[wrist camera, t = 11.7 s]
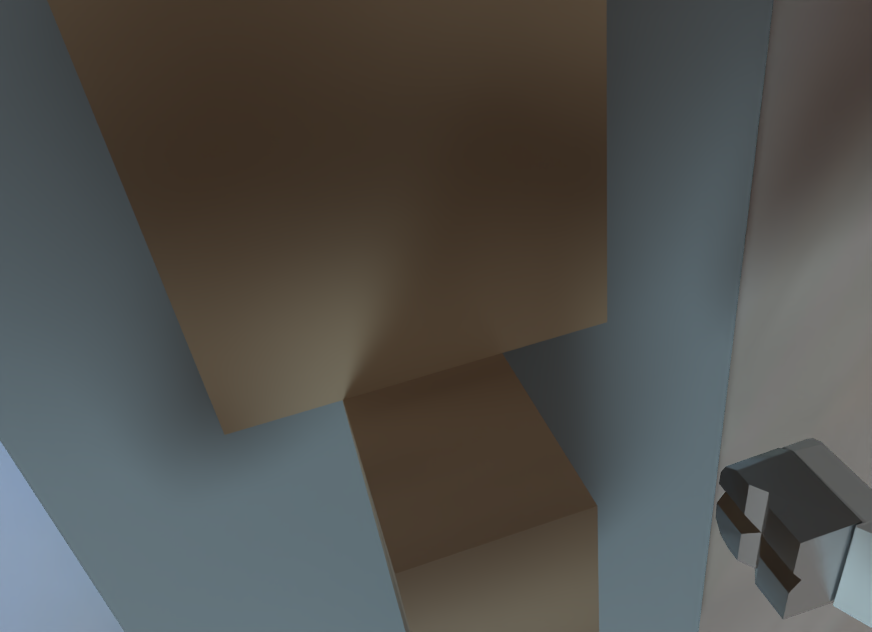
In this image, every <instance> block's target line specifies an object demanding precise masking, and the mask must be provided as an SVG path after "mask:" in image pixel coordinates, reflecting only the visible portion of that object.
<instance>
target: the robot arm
mask: <svg viewBox="0 0 872 632" xmlns="http://www.w3.org/2000/svg"><path fill="white" fill-rule="evenodd" d="M719 484H720V485H721V486H722V488H723V489H724V490H725V491H726V492H725V493H724V494H723V496H722V497H721V498H720V500H719V501H718V502H717V509H716V520H717V523H718V527H719V530H720V534H721V536H722V538H723V540H724V541H725V543H726V545H727V547H728V548H729V550H730V551H731V552H732V554H733V555H734V556H735V558H736V559H737V560H738V561H740V562H742V563H744V564H746V565H748V566H751V567H753V568H755V584H756V585H757V587H758V588H759V589H760V590H761V592H762V593H763V594H764V596H765V597H766V598H767V599H768V601H769V602H770V603H771V605H772V606H773V607H774V608H775V610H776V611H777V612H778V614H779V615H780V616H781V617H782V619H786V618H789V617H792V616H795V615H798V614H801V613H804V612H806V611H809V610H812V609H815V608H818V607H821V606H824V605H827V604H830V603H833V602H834V604H833V606H835V607H837V608H838V609H840V610H842V611H843V612H845V613H847V614H849V615H850V616H852V617H854V618H855V619H857V620H859V621H861V622H862V623H864V624H866V625H867V626H869V627H871V628H872V489H871V488H870V487H869V486H868V485H867V484H865V483H864V482H863V481H862V480H861V479H860V478H859V477H858V476H857V475H856V474H855V473H854V472H853V471H852V470H851V469H850V468H848V467H847V466H846V465H845V464H844V463H843V462H842V461H841V460H840V459H839V458H838V457H837V456H836V455H835V454H834V453H833V452H832V451H830V450H829V449H828V448H827V447H826V446H825V445H824V444H823V443H822V442H821V441H818V440H816V439H814V438H810V439H805V440H802V441H800V442H797V443H794V444H791V445H789V446H786V447H783V448H777V449H774V450H771V451H768V452H766V453H763V454H760V455H757V456H754V457H751V458H749V459H746V460H743V461H740V462H737V463H735V464H732V465H729V466H726V467H725V468H724V469H723V471H722V472H721V475H720V482H719Z"/></svg>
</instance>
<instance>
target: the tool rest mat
mask: <svg viewBox="0 0 872 632" xmlns="http://www.w3.org/2000/svg"><path fill="white" fill-rule="evenodd" d="M773 1H774V0H607V322H606V323H602V324H599V325H596V326H592V327H589V328H585V329H582V330H579V331H575V332H572V333H568V334H565V335H562V336H558V337H555V338H552V339H548V340H545V341H541V342H538V343H535V344H531V345H528V346H524V347H521V348H518V349H514V350H511V351H507V352H504V353H502V354H503V355H504V357H505V358H506V360H507V362H508V363H509V365H510V366H511V368H512V370H513V371H514V373H515V374H516V376H517V378H518V379H519V381H520V382H521V384H522V386H523V387H524V389H525V390H526V392H527V394H528V395H529V397H530V398H531V400H532V402H533V403H534V405H535V406H536V408H537V410H538V411H539V413H540V415H541V416H542V418H543V419H544V421H545V423H546V424H547V426H548V427H549V429H550V431H551V432H552V434H553V435H554V437H555V439H556V440H557V442H558V443H559V445H560V447H561V448H562V450H563V451H564V453H565V455H566V456H567V458H568V459H569V461H570V463H571V464H572V466H573V467H574V469H575V471H576V472H577V474H578V475H579V477H580V479H581V480H582V482H583V483H584V485H585V487H586V488H587V490H588V491H589V493H590V495H591V496H592V498H593V499H594V501H595V503H596V504H597V507H598V580H599V632H698V631H699V622H700V614H701V605H702V597H703V589H704V580H705V572H706V563H707V555H708V547H709V538H710V530H711V521H712V513H713V505H714V496H715V488H716V479H717V471H718V463H719V454H720V446H721V437H722V429H723V421H724V412H725V404H726V395H727V387H728V379H729V370H730V362H731V353H732V345H733V337H734V328H735V320H736V311H737V303H738V295H739V286H740V278H741V269H742V261H743V253H744V244H745V236H746V227H747V219H748V211H749V202H750V194H751V185H752V177H753V169H754V160H755V152H756V143H757V135H758V127H759V118H760V110H761V101H762V93H763V85H764V76H765V68H766V59H767V51H768V43H769V34H770V26H771V17H772V9H773ZM0 441H1V442H2V444H3V446H4V447H5V449H6V450H7V452H8V453H9V455H10V456H11V458H12V459H13V461H14V462H15V464H16V466H17V467H18V469H19V470H20V472H21V473H22V475H23V476H24V478H25V479H26V481H27V482H28V484H29V486H30V487H31V489H32V490H33V492H34V493H35V495H36V496H37V498H38V499H39V501H40V502H41V504H42V506H43V507H44V509H45V510H46V512H47V513H48V515H49V516H50V518H51V519H52V521H53V522H54V524H55V526H56V527H57V529H58V530H59V532H60V533H61V535H62V536H63V538H64V539H65V541H66V542H67V544H68V546H69V547H70V549H71V550H72V552H73V553H74V555H75V556H76V558H77V559H78V561H79V562H80V564H81V566H82V567H83V569H84V570H85V572H86V573H87V575H88V576H89V578H90V579H91V581H92V582H93V584H94V585H95V587H96V589H97V590H98V592H99V593H100V595H101V596H102V598H103V599H104V601H105V602H106V604H107V605H108V607H109V609H110V610H111V612H112V613H113V615H114V616H115V618H116V619H117V621H118V622H119V624H120V625H121V627H122V629H123V630H124V632H405V628H404V624H403V621H402V617H401V613H400V610H399V606H398V602H397V599H396V595H395V591H394V588H393V584H392V580H391V577H390V573H389V569H388V566H387V562H386V558H385V555H384V551H383V547H382V544H381V540H380V537H379V533H378V529H377V526H376V522H375V518H374V515H373V511H372V507H371V504H370V500H369V496H368V493H367V489H366V485H365V482H364V478H363V474H362V471H361V467H360V463H359V460H358V456H357V452H356V449H355V445H354V441H353V438H352V434H351V430H350V427H349V423H348V419H347V416H346V412H345V409H344V405H343V401H342V400H341V401H338V402H334V403H331V404H328V405H324V406H321V407H318V408H314V409H311V410H307V411H304V412H301V413H297V414H294V415H290V416H287V417H284V418H280V419H277V420H273V421H270V422H267V423H263V424H260V425H256V426H253V427H250V428H246V429H243V430H240V431H236V432H233V433H229V434H226V435H224V432H223V430H222V427H221V425H220V422H219V420H218V417H217V415H216V413H215V410H214V408H213V405H212V403H211V400H210V398H209V395H208V393H207V391H206V388H205V386H204V383H203V381H202V378H201V376H200V373H199V371H198V368H197V366H196V364H195V361H194V359H193V356H192V354H191V351H190V349H189V346H188V344H187V342H186V339H185V337H184V334H183V332H182V329H181V327H180V324H179V322H178V319H177V317H176V315H175V312H174V310H173V307H172V305H171V302H170V300H169V297H168V295H167V293H166V290H165V288H164V285H163V283H162V280H161V278H160V275H159V273H158V270H157V268H156V266H155V263H154V261H153V258H152V256H151V253H150V251H149V248H148V246H147V244H146V241H145V239H144V236H143V234H142V231H141V229H140V226H139V224H138V221H137V219H136V217H135V214H134V212H133V209H132V207H131V204H130V202H129V199H128V197H127V195H126V192H125V190H124V187H123V185H122V182H121V180H120V177H119V175H118V172H117V170H116V168H115V165H114V163H113V160H112V158H111V155H110V153H109V150H108V148H107V146H106V143H105V141H104V138H103V136H102V133H101V131H100V128H99V126H98V124H97V121H96V119H95V116H94V114H93V111H92V109H91V106H90V104H89V101H88V99H87V97H86V94H85V92H84V89H83V87H82V84H81V82H80V79H79V77H78V75H77V72H76V70H75V67H74V65H73V62H72V60H71V57H70V55H69V52H68V50H67V48H66V45H65V43H64V40H63V38H62V35H61V33H60V30H59V28H58V26H57V23H56V21H55V18H54V16H53V13H52V11H51V8H50V6H49V3H48V1H47V0H0Z"/></svg>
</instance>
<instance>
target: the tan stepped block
mask: <svg viewBox="0 0 872 632" xmlns="http://www.w3.org/2000/svg"><path fill="white" fill-rule="evenodd" d="M47 1H48V3H49V6H50V8H51V11H52V13H53V16H54V18H55V21H56V23H57V26H58V28H59V30H60V33H61V35H62V38H63V40H64V43H65V45H66V48H67V50H68V52H69V55H70V57H71V60H72V62H73V65H74V67H75V70H76V72H77V75H78V77H79V79H80V82H81V84H82V87H83V89H84V92H85V94H86V97H87V99H88V101H89V104H90V106H91V109H92V111H93V114H94V116H95V119H96V121H97V124H98V126H99V128H100V131H101V133H102V136H103V138H104V141H105V143H106V146H107V148H108V150H109V153H110V155H111V158H112V160H113V163H114V165H115V168H116V170H117V172H118V175H119V177H120V180H121V182H122V185H123V187H124V190H125V192H126V195H127V197H128V199H129V202H130V204H131V207H132V209H133V212H134V214H135V217H136V219H137V221H138V224H139V226H140V229H141V231H142V234H143V236H144V239H145V241H146V244H147V246H148V248H149V251H150V253H151V256H152V258H153V261H154V263H155V266H156V268H157V270H158V273H159V275H160V278H161V280H162V283H163V285H164V288H165V290H166V293H167V295H168V297H169V300H170V302H171V305H172V307H173V310H174V312H175V315H176V317H177V319H178V322H179V324H180V327H181V329H182V332H183V334H184V337H185V339H186V342H187V344H188V346H189V349H190V351H191V354H192V356H193V359H194V361H195V364H196V366H197V368H198V371H199V373H200V376H201V378H202V381H203V383H204V386H205V388H206V391H207V393H208V395H209V398H210V400H211V403H212V405H213V408H214V410H215V413H216V415H217V417H218V420H219V422H220V425H221V427H222V430H223V432H224V435H226V434H229V433H233V432H236V431H240V430H243V429H246V428H250V427H253V426H256V425H260V424H263V423H267V422H270V421H273V420H277V419H280V418H284V417H287V416H290V415H294V414H297V413H301V412H304V411H307V410H311V409H314V408H318V407H321V406H324V405H328V404H331V403H334V402H338V401H341V400H342V401H343V405H344V409H345V412H346V416H347V419H348V423H349V427H350V430H351V434H352V438H353V441H354V445H355V449H356V452H357V456H358V460H359V463H360V467H361V471H362V474H363V478H364V482H365V485H366V489H367V493H368V496H369V500H370V504H371V507H372V511H373V515H374V518H375V522H376V526H377V529H378V533H379V537H380V540H381V544H382V547H383V551H384V555H385V558H386V562H387V566H388V569H389V573H390V577H391V580H392V584H393V588H394V591H395V595H396V599H397V602H398V606H399V610H400V613H401V617H402V621H403V624H404V628H405V632H599V580H598V507H597V504H596V503H595V501H594V499H593V498H592V496H591V495H590V493H589V491H588V490H587V488H586V487H585V485H584V483H583V482H582V480H581V479H580V477H579V475H578V474H577V472H576V471H575V469H574V467H573V466H572V464H571V463H570V461H569V459H568V458H567V456H566V455H565V453H564V451H563V450H562V448H561V447H560V445H559V443H558V442H557V440H556V439H555V437H554V435H553V434H552V432H551V431H550V429H549V427H548V426H547V424H546V423H545V421H544V419H543V418H542V416H541V415H540V413H539V411H538V410H537V408H536V406H535V405H534V403H533V402H532V400H531V398H530V397H529V395H528V394H527V392H526V390H525V389H524V387H523V386H522V384H521V382H520V381H519V379H518V378H517V376H516V374H515V373H514V371H513V370H512V368H511V366H510V365H509V363H508V362H507V360H506V358H505V357H504V355H503V354H502V353H504V352H507V351H511V350H514V349H518V348H521V347H524V346H528V345H531V344H535V343H538V342H541V341H545V340H548V339H552V338H555V337H558V336H562V335H565V334H568V333H572V332H575V331H579V330H582V329H585V328H589V327H592V326H596V325H599V324H602V323H606V322H607V0H47Z"/></svg>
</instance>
